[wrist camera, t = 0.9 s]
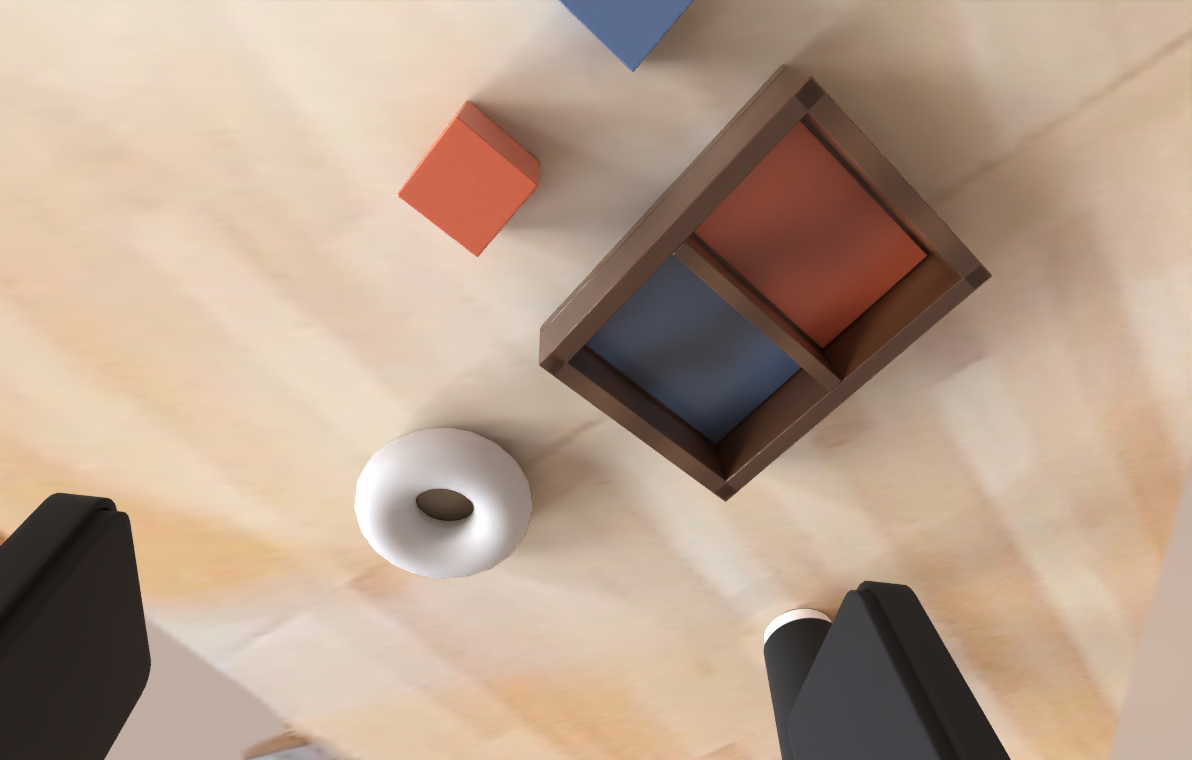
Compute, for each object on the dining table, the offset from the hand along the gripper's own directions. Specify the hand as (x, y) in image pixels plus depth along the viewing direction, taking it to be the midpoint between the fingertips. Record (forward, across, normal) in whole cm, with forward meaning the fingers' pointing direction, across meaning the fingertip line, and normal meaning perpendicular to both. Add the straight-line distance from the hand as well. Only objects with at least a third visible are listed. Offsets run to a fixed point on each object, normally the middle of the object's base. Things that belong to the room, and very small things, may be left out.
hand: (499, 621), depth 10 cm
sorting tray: (+28, -11, +5) cm, 31 cm away
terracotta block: (+28, +3, +1) cm, 28 cm away
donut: (+28, +2, +20) cm, 35 cm away
